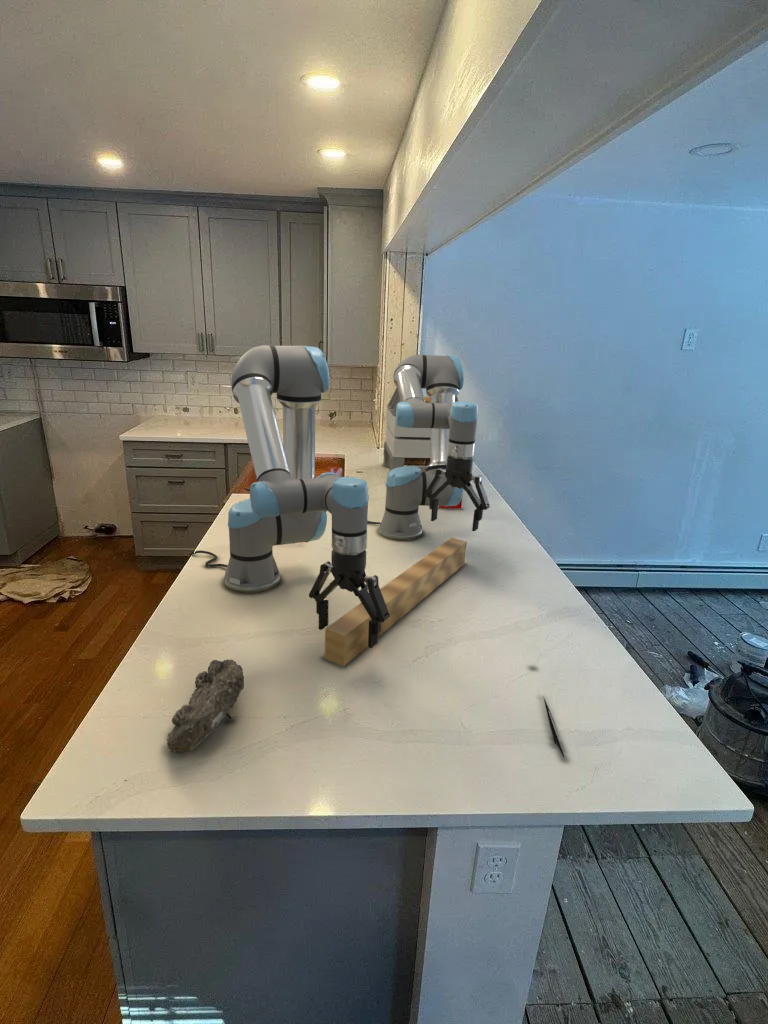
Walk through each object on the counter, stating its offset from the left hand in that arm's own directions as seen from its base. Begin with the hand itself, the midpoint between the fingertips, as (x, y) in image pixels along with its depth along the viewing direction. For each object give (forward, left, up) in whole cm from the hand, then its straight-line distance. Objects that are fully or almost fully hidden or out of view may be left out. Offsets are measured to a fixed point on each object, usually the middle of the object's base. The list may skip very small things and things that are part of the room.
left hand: (347, 636), depth 129 cm
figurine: (-84, +59, -4) cm, 103 cm away
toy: (-66, +102, -4) cm, 122 cm away
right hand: (-18, +53, +10) cm, 57 cm away
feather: (+40, +20, -4) cm, 45 cm away
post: (-9, +27, -4) cm, 29 cm away
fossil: (+2, -33, -4) cm, 34 cm away
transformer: (-100, +120, -4) cm, 156 cm away
